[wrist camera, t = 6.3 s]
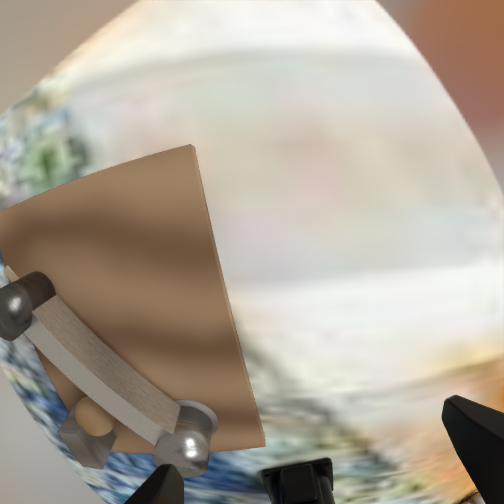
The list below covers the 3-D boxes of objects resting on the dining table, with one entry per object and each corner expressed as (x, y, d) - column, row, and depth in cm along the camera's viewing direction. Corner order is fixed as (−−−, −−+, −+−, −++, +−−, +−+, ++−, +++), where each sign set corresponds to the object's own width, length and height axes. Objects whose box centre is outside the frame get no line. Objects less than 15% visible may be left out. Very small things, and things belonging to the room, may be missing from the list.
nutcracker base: (264, 436, 22) (268, 484, 17) (97, 441, 22) (78, 478, 17) (194, 146, 17) (173, 133, 12) (1, 213, 17) (-46, 225, 12)
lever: (223, 425, 20) (219, 471, 15) (192, 444, 20) (184, 487, 16) (37, 259, 17) (-6, 279, 12) (18, 292, 17) (-20, 316, 13)
